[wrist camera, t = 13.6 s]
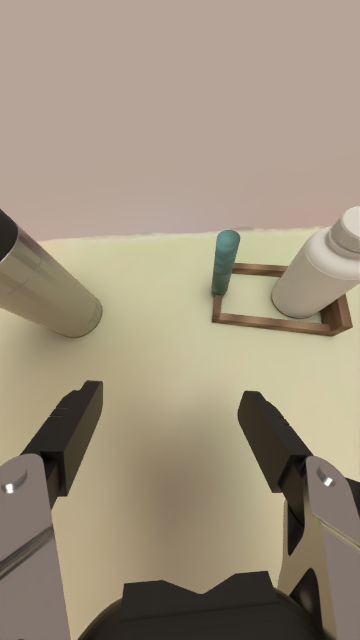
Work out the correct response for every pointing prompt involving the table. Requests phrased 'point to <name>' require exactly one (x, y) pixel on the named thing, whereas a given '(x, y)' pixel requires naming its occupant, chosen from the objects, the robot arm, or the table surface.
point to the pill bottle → (321, 268)
